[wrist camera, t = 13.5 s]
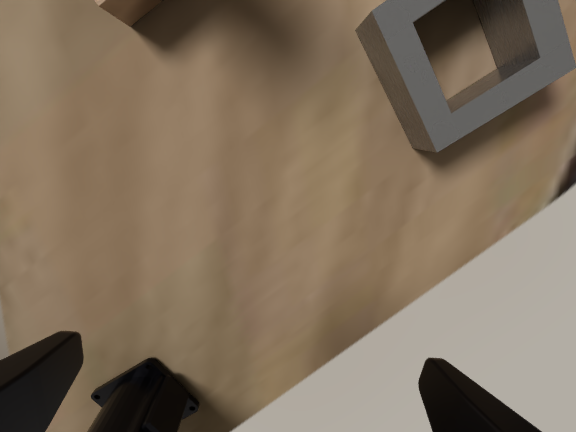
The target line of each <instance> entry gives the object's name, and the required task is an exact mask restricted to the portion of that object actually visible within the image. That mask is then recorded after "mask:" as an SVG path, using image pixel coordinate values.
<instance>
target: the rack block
mask: <svg viewBox="0 0 576 432" xmlns="http://www.w3.org/2000/svg"><path fill="white" fill-rule="evenodd" d="M95 1H96V3H97V4H98V6H100V7H101V8H103V9H104V10H106V11H107V12H109V13H110V14H112V15H113V16H115V17H116V18H118V19H119V20H121V21H122V22H124V23H125V24H127V25H128V26H130V27H131V26H132V25H133V24H134V23H135V22H137V21H138V20H139V19H140V18H142V17H143V16H144V15H145V14H147V13H148V12H149V11H150V10H152V9H153V8H154V7H155V6H157V5H158V4H159V3H160V2H162V1H163V0H95Z"/></svg>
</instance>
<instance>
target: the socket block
mask: <svg viewBox="0 0 576 432" xmlns="http://www.w3.org/2000/svg"><path fill="white" fill-rule="evenodd" d="M445 1H446V0H386V1H385V2H384V3H382V4H381V5H379V6H378V7H377V8H375V9H374V10H372V11H371V12H370V14H369V15H368V16H367V17H366V18H365V19H364V21H363V22H362V23H361V24H360V25H359V27H358V28H357V29H356V30H355V31H356V33H357V35H358V37H359V39H360V41H361V43H362V45H363V47H364V49H365V51H366V53H367V55H368V57H369V59H370V61H371V63H372V66H373V68H374V70H375V72H376V74H377V76H378V78H379V80H380V82H381V84H382V86H383V88H384V90H385V92H386V94H387V96H388V98H389V100H390V102H391V105H392V107H393V109H394V111H395V113H396V115H397V117H398V119H399V121H400V123H401V125H402V127H403V129H404V131H405V133H406V135H407V137H408V139H409V141H410V144H411V146H412V148H415V149H420V150H426V151H431V152H439V151H440V150H442V149H444V148H445V147H447V146H449V145H450V144H452V143H454V142H455V141H457V140H459V139H460V138H462V137H463V136H465V135H467V134H468V133H470V132H472V131H473V130H475V129H477V128H478V127H480V126H482V125H483V124H485V123H486V122H488V121H490V120H491V119H493V118H495V117H496V116H498V115H500V114H501V113H503V112H504V111H506V110H508V109H509V108H511V107H513V106H514V105H516V104H518V103H519V102H521V101H523V100H524V99H526V98H527V97H529V96H531V95H532V94H534V93H536V92H537V91H539V90H541V89H542V88H544V87H546V86H547V85H549V84H550V83H552V82H554V81H555V80H557V79H559V78H560V77H562V76H564V75H565V74H567V73H568V72H570V71H572V70H573V69H575V68H576V65H575V61H574V57H573V54H572V50H571V46H570V43H569V39H568V35H567V32H566V28H565V24H564V21H563V17H562V14H561V10H560V6H559V3H558V0H473V1H474V4H475V7H476V10H477V12H478V15H479V18H480V21H481V24H482V26H483V29H484V32H485V35H486V38H487V40H488V43H489V46H490V49H491V52H492V54H493V57H494V60H495V63H496V66H497V69H496V70H494V71H493V72H491V73H489V74H488V75H486V76H485V77H483V78H482V79H480V80H478V81H477V82H475V83H474V84H472V85H471V86H469V87H467V88H466V89H464V90H463V91H461V92H459V93H458V94H456V95H455V96H453V97H452V98H450V99H448V100H447V101H446V99H445V97H444V95H443V92H442V90H441V88H440V85H439V83H438V81H437V78H436V76H435V74H434V71H433V69H432V67H431V64H430V62H429V60H428V57H427V55H426V52H425V50H424V48H423V45H422V43H421V41H420V38H419V36H418V34H417V31H416V29H415V27H414V24H413V23H414V22H416V21H417V20H419V19H420V18H422V17H423V16H424V15H426V14H427V13H429V12H430V11H432V10H433V9H435V8H436V7H438V6H439V5H440V4H442V3H443V2H445Z"/></svg>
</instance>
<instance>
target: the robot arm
mask: <svg viewBox="0 0 576 432" xmlns="http://www.w3.org/2000/svg"><path fill="white" fill-rule="evenodd" d="M82 364H83V348H82V340H81V335H80V334H79V333H78V332H73V331H59V332H57V333H55V334H53V335H51V336H49V337H47V338H45V339H43V340H41V341H39V342H37V343H35V344H33V345H31V346H29V347H26V348H24V349H22V350H20V351H18V352H16V353H14V354H12V355H10V356H8V357H6V358H4V359H2V360H0V432H45V431H46V429H47V428H48V426H49V424H50V423H51V421H52V419H53V417H54V415H55V414H56V412H57V410H58V408H59V406H60V405H61V403H62V401H63V399H64V398H65V396H66V394H67V392H68V390H69V389H70V387H71V385H72V383H73V381H74V380H75V378H76V376H77V374H78V373H79V371H80V369H81V367H82ZM148 364H149V365H148ZM418 384H419V391H420V394H421V397H422V400H423V403H424V406H425V409H426V412H427V416H428V418H429V422H430V425H431V428H432V431H433V432H542V431H540V430H539V429H537V428H536V427H535V426H533V425H532V424H531V423H529V422H528V421H527V420H525V419H524V418H523V417H521V416H520V415H519V414H517V413H516V412H515V411H513V410H512V409H510V408H509V407H508V406H506V405H505V404H504V403H502V402H501V401H500V400H498V399H497V398H496V397H494V396H493V395H492V394H490V393H489V392H487V391H486V390H485V389H483V388H482V387H481V386H479V385H478V384H477V383H475V382H474V381H472V380H471V379H470V378H469V377H467V376H466V375H465V374H463V373H462V372H460V371H459V370H458V369H457V368H455V367H454V366H452V365H451V364H450V363H448V362H447V361H446V360H444V359H440V358H428V359H427V360H426V361H425V364H424V366H423V370H422V372H421V375H420V378H419V383H418ZM91 398H92V399H93V400H94V401H95V402H96V403H97V404H98V405H100V406H101V407H102V409H101V410H100V412H99V414H98V415H97V417H96V418H95V420H94V422H93V423H92V425H91V427H90V428H89V430H88V431H87V432H178V429H179V426H180V422H181V420H182V419H184V418H186V417H188V416H189V415H191V414H193V413H195V412H197V411H198V408H199V402H198V401H197V400H196V399H195V398H194V397H193V396H192V395H191V394H190V393H189V392H188V391H187V390H186V389H185V388H184V387H183V386H182V385H181V384H180V383H179V382H178V381H176V380H175V379H174V378H173V377H172V376H171V375H170V374H169V373H168V372H167V371H166V370H165V369H164V368H163V367H162V366H161V365H160V364H159V363H158V362H157V361H156V360H155V359H152V358H148V359H146V360H144V361H142V362H141V363H139V364H137V365H136V366H134V367H132V368H130V369H129V370H127V371H125V372H124V373H122V374H120V375H119V376H117V377H115V378H114V379H112V380H110V381H108V382H107V383H105V384H103V385H102V386H100V387H98V388H97V389H95V390H94V392H93V393H92V395H91Z"/></svg>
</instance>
